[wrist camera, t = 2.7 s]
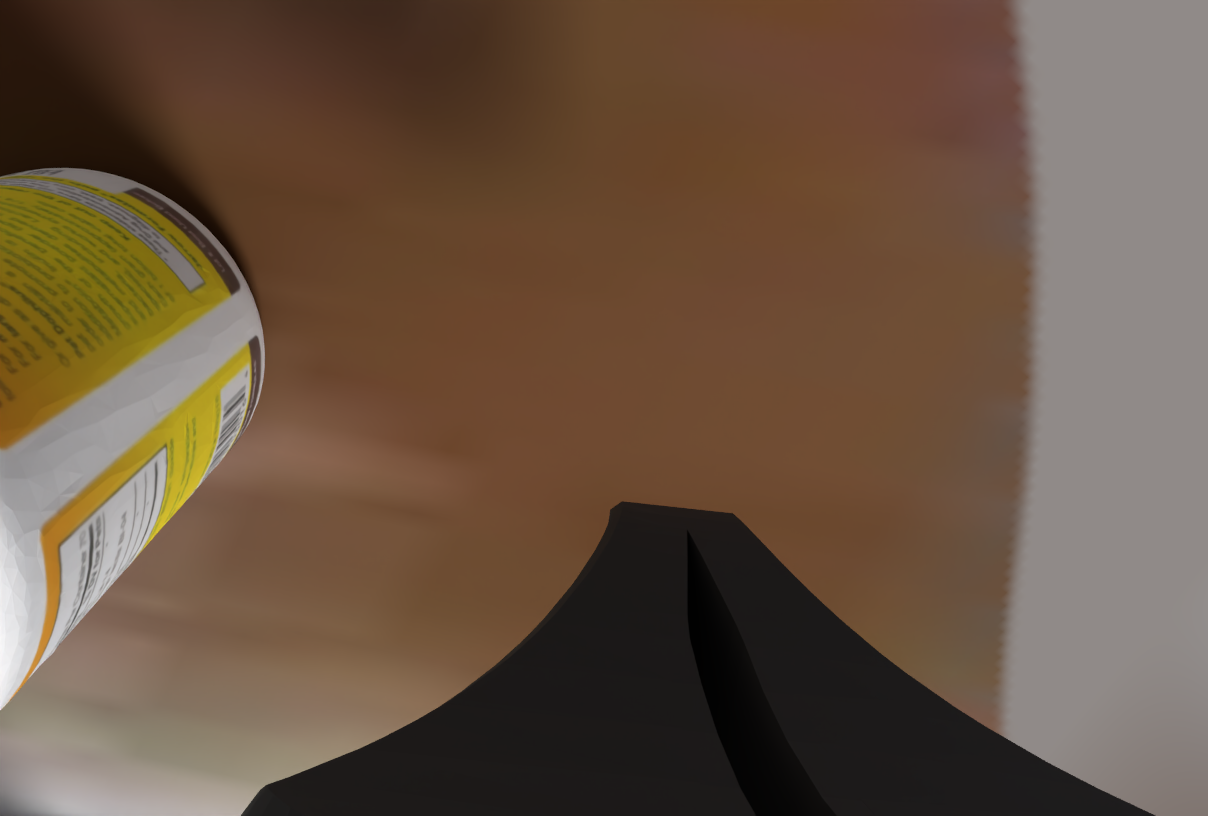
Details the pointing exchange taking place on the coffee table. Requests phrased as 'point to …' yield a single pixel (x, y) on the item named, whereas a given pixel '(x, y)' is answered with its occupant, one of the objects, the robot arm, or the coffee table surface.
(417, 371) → the coffee table surface
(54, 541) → the supplement bottle
